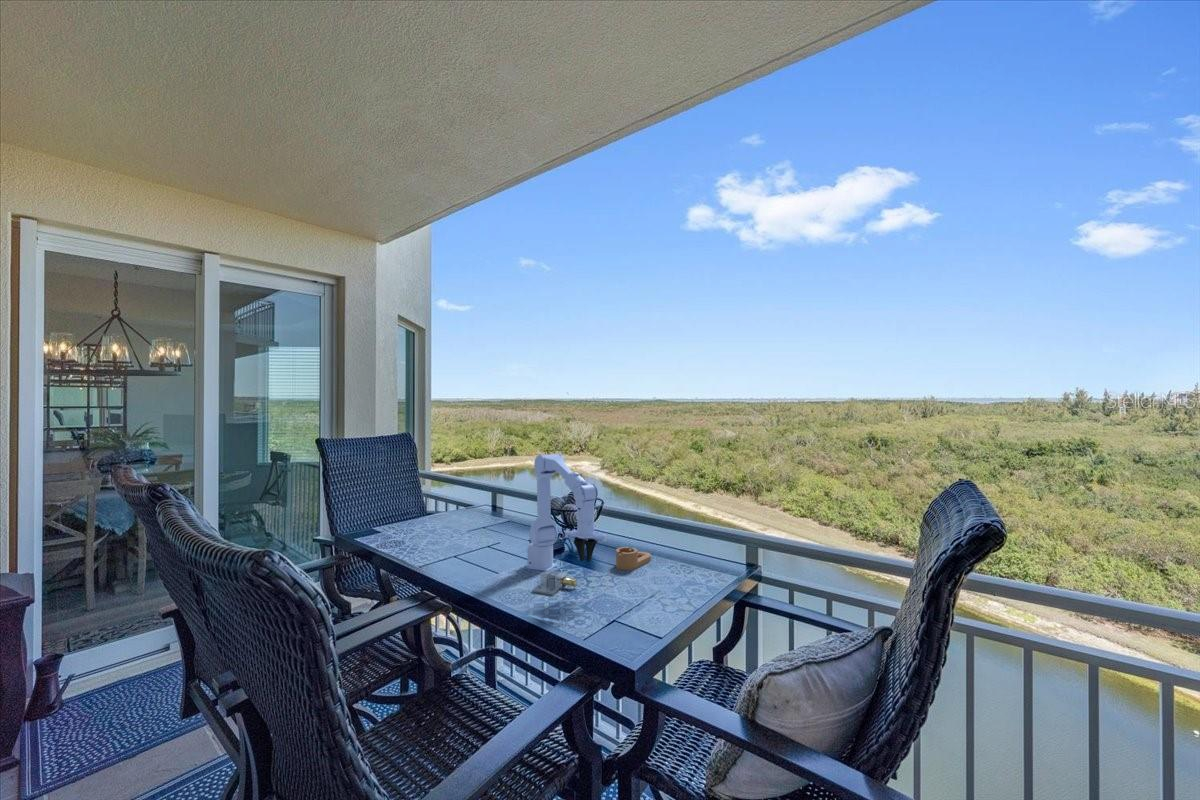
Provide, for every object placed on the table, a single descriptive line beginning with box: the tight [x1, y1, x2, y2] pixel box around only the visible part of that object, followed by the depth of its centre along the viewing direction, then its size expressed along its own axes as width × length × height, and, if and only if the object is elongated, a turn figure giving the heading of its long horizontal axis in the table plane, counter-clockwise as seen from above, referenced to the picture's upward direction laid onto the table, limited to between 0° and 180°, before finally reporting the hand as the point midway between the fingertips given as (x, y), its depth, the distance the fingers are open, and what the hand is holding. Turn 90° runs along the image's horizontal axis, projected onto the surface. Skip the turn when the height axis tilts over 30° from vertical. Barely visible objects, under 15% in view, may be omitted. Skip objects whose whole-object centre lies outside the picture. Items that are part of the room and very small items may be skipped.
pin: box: [562, 578, 578, 588], centre depth 164 cm, size 9×2×2 cm, turn 69°
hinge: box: [531, 570, 575, 597], centre depth 165 cm, size 8×16×4 cm, turn 159°
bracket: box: [615, 546, 652, 571], centre depth 187 cm, size 18×8×7 cm, turn 143°
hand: (585, 560), depth 161 cm, fingers closed
